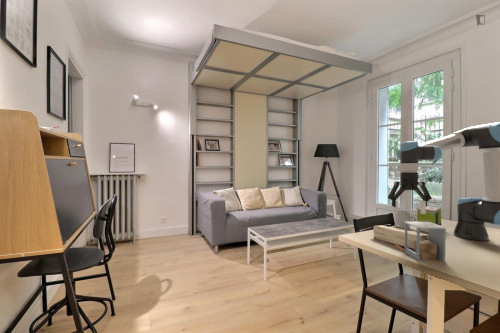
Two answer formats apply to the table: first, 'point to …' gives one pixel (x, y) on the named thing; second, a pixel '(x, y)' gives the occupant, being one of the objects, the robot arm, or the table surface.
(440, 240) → the grey open frame stool
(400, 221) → the mug
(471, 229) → the robot arm
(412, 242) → the wooden beam
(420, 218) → the tea box
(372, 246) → the table surface
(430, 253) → the block
